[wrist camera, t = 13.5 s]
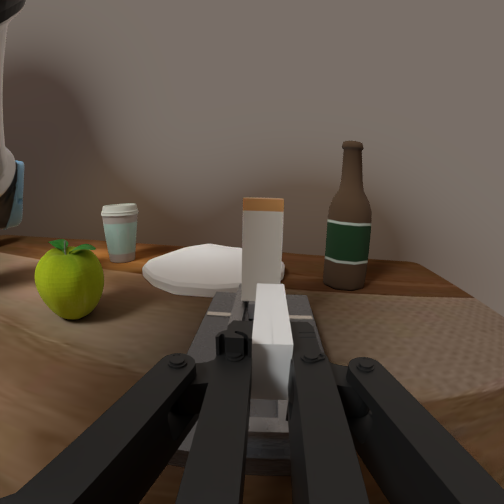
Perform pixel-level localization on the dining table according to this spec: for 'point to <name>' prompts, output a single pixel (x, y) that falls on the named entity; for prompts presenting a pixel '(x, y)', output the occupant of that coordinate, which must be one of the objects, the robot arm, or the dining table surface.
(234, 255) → the decorative plate
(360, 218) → the beer bottle
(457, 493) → the robot arm
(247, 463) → the fader console
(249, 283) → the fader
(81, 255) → the fruit
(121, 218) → the coffee cup
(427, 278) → the dining table surface
